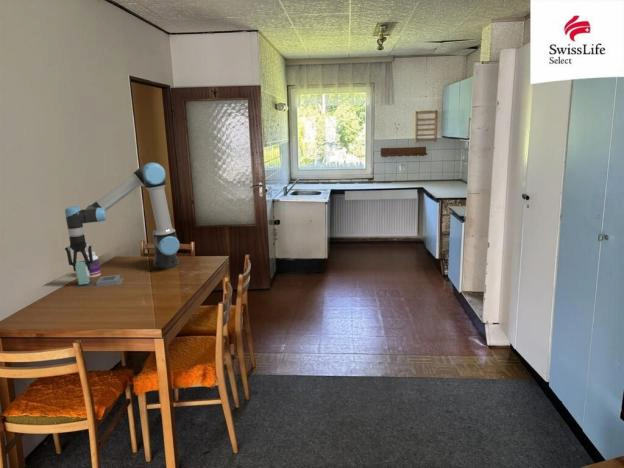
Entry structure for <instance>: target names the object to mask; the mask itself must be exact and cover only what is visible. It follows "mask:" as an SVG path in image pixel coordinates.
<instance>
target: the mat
mask: <svg viewBox="0 0 624 468" xmlns="http://www.w3.org/2000/svg"><path fill="white" fill-rule="evenodd" d="M94 283H96V282H95V280H93V281H92V280H91V281H90V282H89V283H88V284H81V285H79V282H77V283H76V284H75V286H74V287H73V288H74V289H77V288H86V287H93V284H94Z"/></svg>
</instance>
